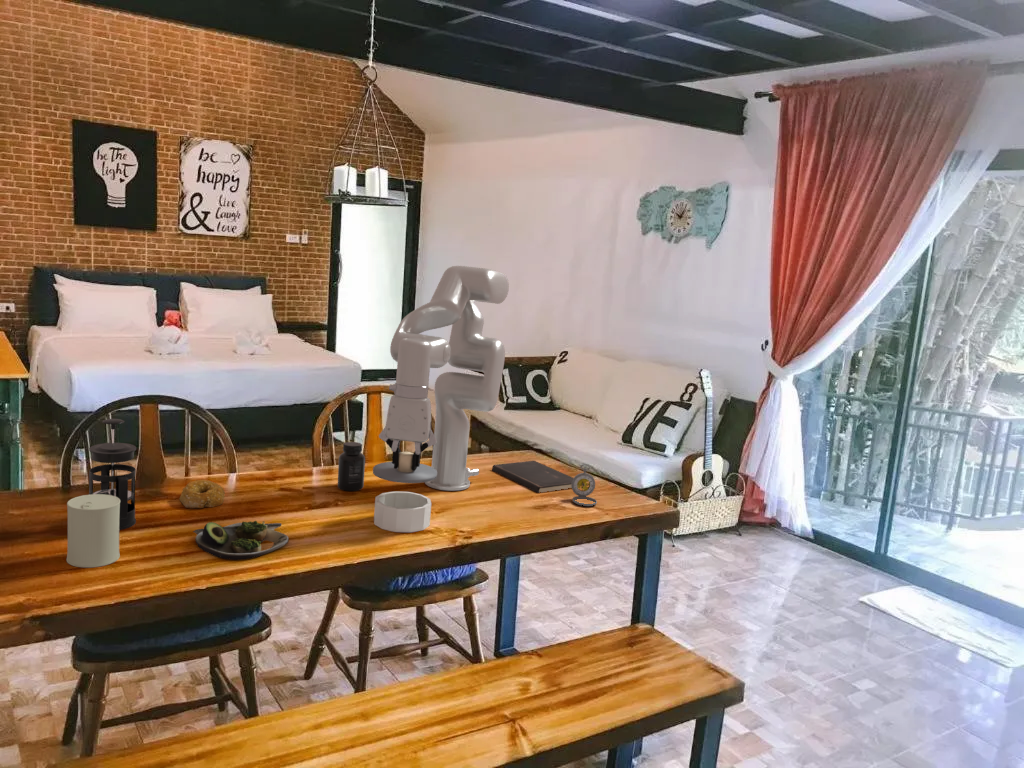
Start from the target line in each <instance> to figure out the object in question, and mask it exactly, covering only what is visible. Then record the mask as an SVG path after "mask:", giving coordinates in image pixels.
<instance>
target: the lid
mask: <svg viewBox="0 0 1024 768" xmlns="http://www.w3.org/2000/svg"><path fill="white" fill-rule="evenodd" d="M413 454H414V452H411V451H401V452H400V453H399V459H398V468H396V469H395V468H394V464H392V461H386V462H381V463H377V464H376V465H374V466H373V467H372V474H373V475H374V476H375V477H377V478H378V479H382V480H384V481H388V482H393V483H399V484H400V483H402V484H420V483H425V482H428V481H431V480H434V479H435V478H436V477H437V471H436V469H434V468H432V466H430V465H427V464H424V463H420V465H419V467H417V468H416V470H415V471H412V459H413Z"/></svg>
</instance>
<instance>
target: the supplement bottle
mask: <svg viewBox="0 0 1024 768" xmlns="http://www.w3.org/2000/svg"><path fill="white" fill-rule="evenodd" d="M342 451H343V452H342V453H340V454H339V456H338V468H337V469H338V470H337V471H338V472H337V488H338V489H339V490H341V491H345V492H357V491H361V490H362V489H363V488H364V483H365V468H366V457H365V454H363V453H362V451H363V444H362V443H360V442H356V441H349V442H347V441H346V442H344V443H343V447H342Z"/></svg>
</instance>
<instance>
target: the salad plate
mask: <svg viewBox="0 0 1024 768" xmlns="http://www.w3.org/2000/svg"><path fill="white" fill-rule="evenodd" d="M281 527H282V523H280V522H274V523H272V522H271V523H266V521H265V520H263V521H262V522H261V523H260V522H258V521H257V520H254V521H242V522H236V523H233V524H228V525H225V526H222V525H220V524H218V523H216V522H213V521H212V522H211V521H209V522H207V523H206V524H205V526H204V527H203V528H198V529H195V530H193V531H192V533H195V535H196V536H195V543H196V545H197V546H198V548H199V549H200V550H202V551H204V552H206V553H207V554H210V555H212V556H214V557H216V558H220V559H223V560H224V559H225V560H230V561H242V560H243V561H244V560H250V559H255V558H258V557H260V556H261V557H262V556H263V555H266V554H270V553H272V552H273V551H276V550H278V549H280V548H282V547H284V546H285V545H287V544H288V542H289V536H288V535H286V534H285V533H282V532H279V531H277V530H276V529H278V528H281ZM264 541H268V542H271V543H273V545H272V546H271V547H270V548H267V549H264V550H262V544H261V543H263V542H264Z"/></svg>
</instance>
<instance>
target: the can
mask: <svg viewBox="0 0 1024 768" xmlns="http://www.w3.org/2000/svg"><path fill="white" fill-rule="evenodd" d="M66 506H67V508H66V509H67V510H66V511H67V550H66V551H67V555H66V563H67V564H68V565H71V566H73V567H77V568H87V569H88V568H99V567H104V566H107V565H108V566H109V565H111V564H114V563H115V562H117V561H118V560H119V558H120V557H121V555H120V530H119V515H120V499H119V498H118V497H115V496H112V495H105V494H91V495H89V494H83V495H79V496H76V497H73V498H71V499H69V500H68V501H67V502H66Z"/></svg>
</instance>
